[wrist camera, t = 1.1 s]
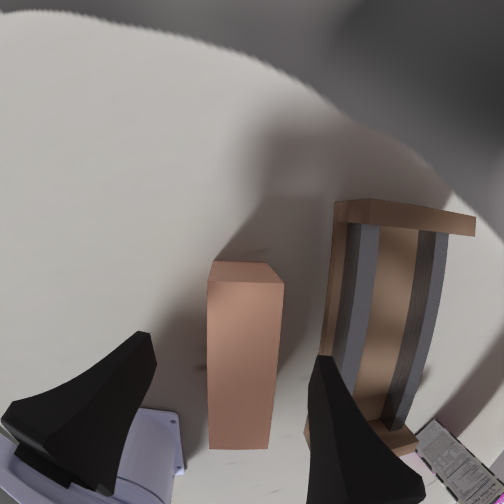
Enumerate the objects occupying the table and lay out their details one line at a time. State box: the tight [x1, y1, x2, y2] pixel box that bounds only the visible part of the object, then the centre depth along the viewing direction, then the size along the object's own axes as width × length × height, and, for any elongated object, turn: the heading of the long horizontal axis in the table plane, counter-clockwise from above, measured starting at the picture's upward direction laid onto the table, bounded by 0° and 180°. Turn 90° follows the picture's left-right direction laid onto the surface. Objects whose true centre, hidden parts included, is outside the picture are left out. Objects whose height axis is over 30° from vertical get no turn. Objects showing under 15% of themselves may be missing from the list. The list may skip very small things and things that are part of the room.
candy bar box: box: [415, 418, 504, 504], centre depth 19 cm, size 11×5×16 cm, turn 42°
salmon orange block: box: [207, 261, 284, 450], centre depth 19 cm, size 12×4×7 cm, turn 177°
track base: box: [304, 199, 476, 457], centre depth 21 cm, size 22×10×6 cm, turn 177°
